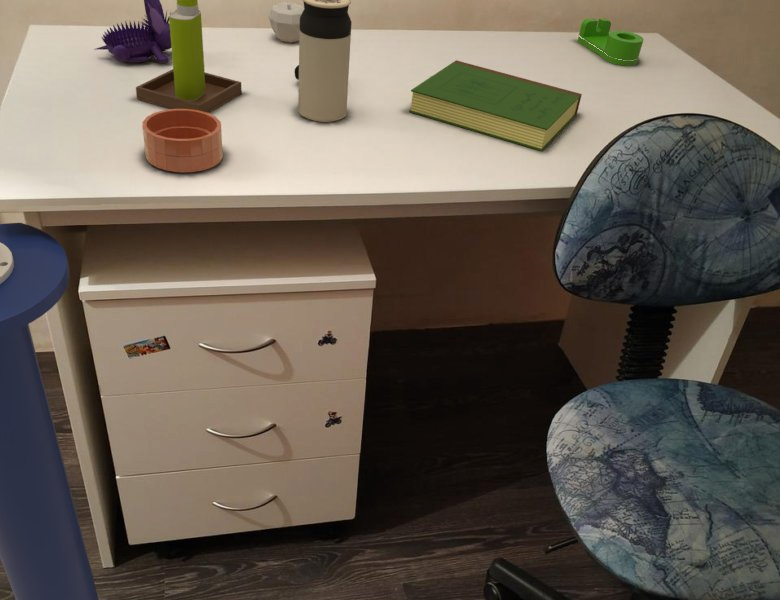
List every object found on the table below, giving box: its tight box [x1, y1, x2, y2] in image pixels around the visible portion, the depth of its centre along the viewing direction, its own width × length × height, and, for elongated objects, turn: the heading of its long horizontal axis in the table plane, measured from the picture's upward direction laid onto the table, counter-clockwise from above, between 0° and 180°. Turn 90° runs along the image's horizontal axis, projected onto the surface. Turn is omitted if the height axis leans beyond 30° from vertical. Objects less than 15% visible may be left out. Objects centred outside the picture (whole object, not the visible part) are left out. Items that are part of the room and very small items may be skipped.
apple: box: [268, 2, 304, 44], centre depth 156 cm, size 8×8×7 cm
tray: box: [135, 68, 243, 114], centre depth 133 cm, size 12×12×2 cm
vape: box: [168, 0, 206, 101], centre depth 126 cm, size 4×6×20 cm, turn 167°
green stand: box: [577, 17, 644, 67], centre depth 169 cm, size 15×7×5 cm, turn 22°
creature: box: [95, 0, 172, 64], centre depth 140 cm, size 9×18×12 cm, turn 107°
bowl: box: [141, 108, 224, 173], centre depth 115 cm, size 11×11×5 cm
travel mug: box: [297, 0, 352, 123], centre depth 127 cm, size 8×8×18 cm
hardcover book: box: [408, 59, 583, 152], centre depth 139 cm, size 25×19×4 cm
